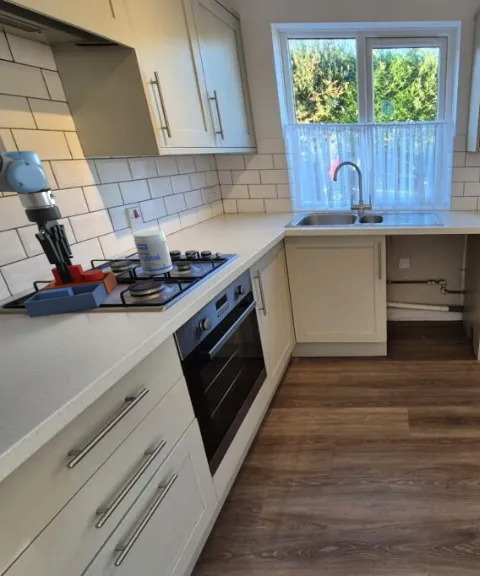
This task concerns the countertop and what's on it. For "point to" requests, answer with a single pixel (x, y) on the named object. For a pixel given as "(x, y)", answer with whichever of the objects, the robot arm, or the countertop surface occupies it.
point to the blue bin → (67, 301)
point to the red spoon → (79, 274)
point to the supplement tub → (153, 252)
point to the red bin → (87, 283)
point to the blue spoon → (57, 293)
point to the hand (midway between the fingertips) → (70, 280)
